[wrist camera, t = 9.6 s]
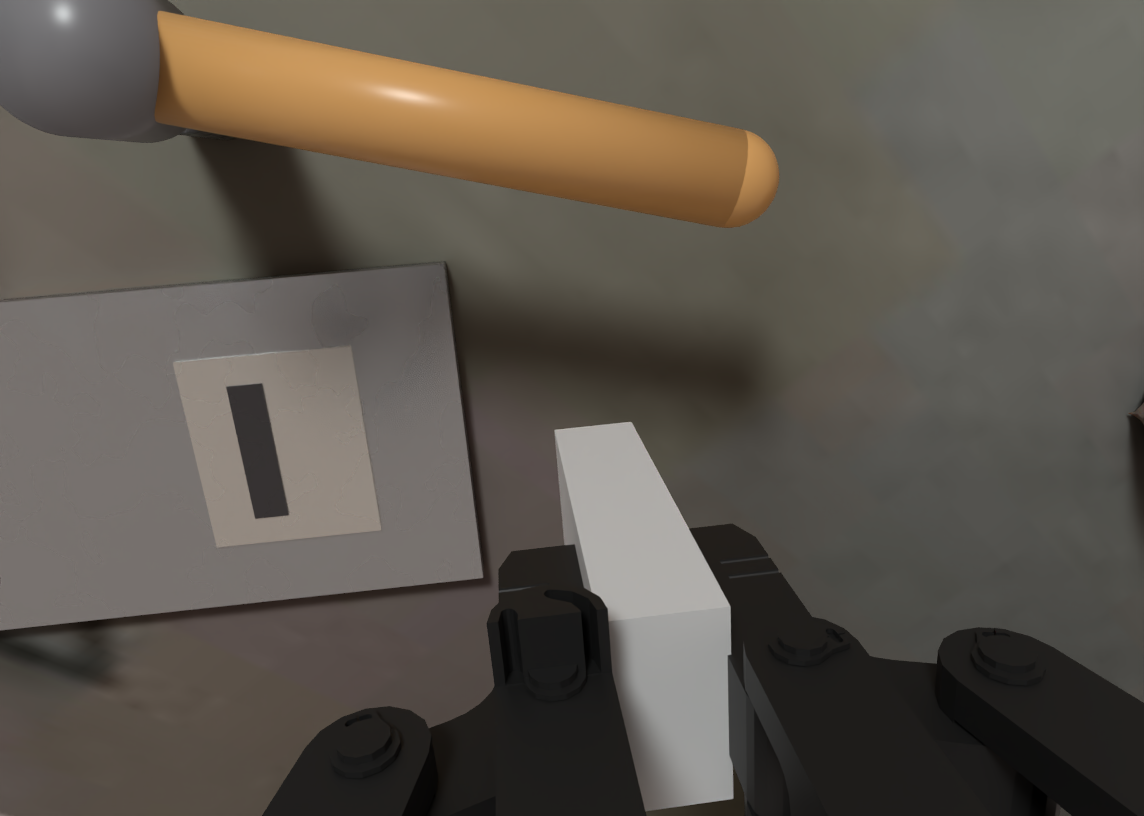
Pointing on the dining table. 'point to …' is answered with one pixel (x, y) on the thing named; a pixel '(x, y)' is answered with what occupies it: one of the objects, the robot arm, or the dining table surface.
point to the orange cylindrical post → (364, 110)
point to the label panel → (231, 444)
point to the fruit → (1139, 413)
